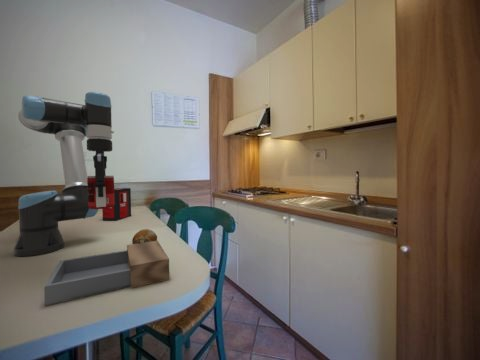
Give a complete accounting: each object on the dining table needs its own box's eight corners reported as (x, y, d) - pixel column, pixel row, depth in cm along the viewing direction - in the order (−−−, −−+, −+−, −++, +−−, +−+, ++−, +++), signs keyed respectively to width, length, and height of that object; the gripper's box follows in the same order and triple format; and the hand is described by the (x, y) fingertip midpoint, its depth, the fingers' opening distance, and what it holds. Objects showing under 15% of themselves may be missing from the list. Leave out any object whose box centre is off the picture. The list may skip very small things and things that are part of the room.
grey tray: (44, 305, 53) (44, 286, 53) (60, 275, 69) (60, 260, 68) (130, 286, 62) (130, 270, 61) (127, 263, 77) (127, 250, 77)
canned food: (119, 205, 83) (118, 175, 82) (104, 209, 75) (103, 175, 74) (99, 205, 83) (98, 175, 83) (82, 209, 75) (81, 176, 75)
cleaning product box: (115, 221, 146) (114, 190, 145) (102, 220, 147) (101, 190, 146) (131, 216, 162) (130, 188, 161) (119, 216, 163) (118, 188, 162)
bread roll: (159, 250, 101) (164, 232, 104) (144, 247, 92) (149, 227, 95) (141, 248, 104) (146, 230, 107) (124, 244, 95) (130, 225, 98)
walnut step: (130, 288, 61) (130, 265, 60) (127, 262, 78) (126, 245, 78) (169, 279, 66) (169, 258, 65) (157, 256, 83) (157, 240, 83)
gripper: (111, 135, 71) (114, 208, 72) (112, 143, 89) (114, 201, 90) (82, 133, 68) (85, 210, 68) (89, 142, 86) (91, 203, 86)
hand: (101, 205), depth 79 cm, fingers closed on canned food, 8 cm apart
